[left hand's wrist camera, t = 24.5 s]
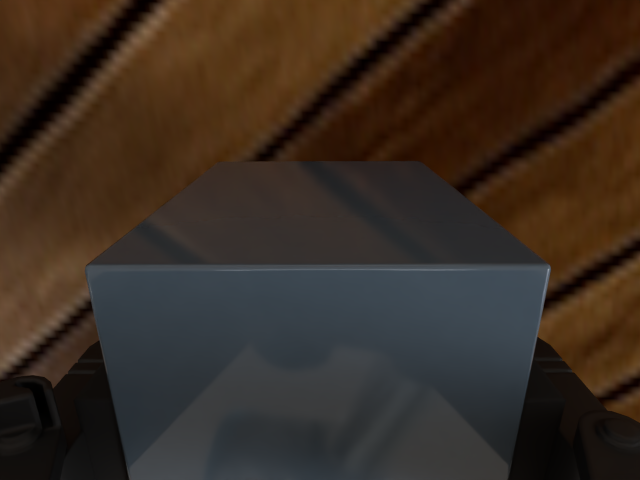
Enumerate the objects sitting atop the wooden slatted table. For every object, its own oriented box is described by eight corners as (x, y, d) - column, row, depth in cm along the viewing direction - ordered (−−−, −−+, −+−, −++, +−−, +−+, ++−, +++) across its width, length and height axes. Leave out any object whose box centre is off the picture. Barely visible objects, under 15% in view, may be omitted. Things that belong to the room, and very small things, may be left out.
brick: (421, 160, 15) (554, 264, 7) (406, 345, 18) (488, 592, 9) (217, 161, 15) (81, 266, 7) (233, 345, 18) (150, 592, 9)
